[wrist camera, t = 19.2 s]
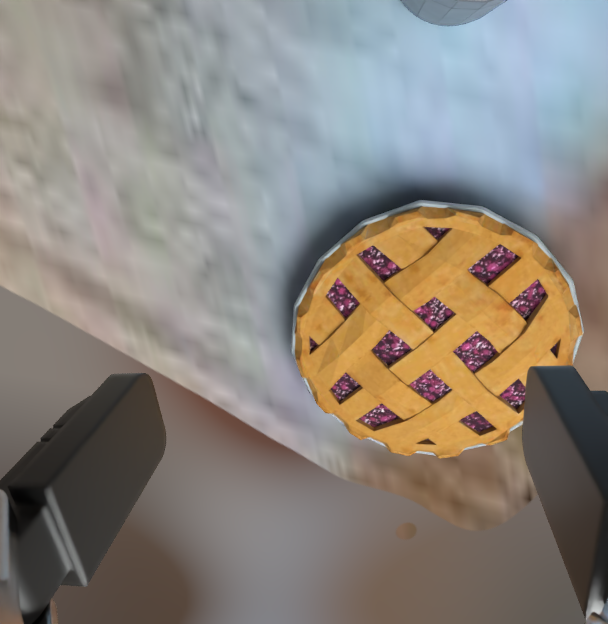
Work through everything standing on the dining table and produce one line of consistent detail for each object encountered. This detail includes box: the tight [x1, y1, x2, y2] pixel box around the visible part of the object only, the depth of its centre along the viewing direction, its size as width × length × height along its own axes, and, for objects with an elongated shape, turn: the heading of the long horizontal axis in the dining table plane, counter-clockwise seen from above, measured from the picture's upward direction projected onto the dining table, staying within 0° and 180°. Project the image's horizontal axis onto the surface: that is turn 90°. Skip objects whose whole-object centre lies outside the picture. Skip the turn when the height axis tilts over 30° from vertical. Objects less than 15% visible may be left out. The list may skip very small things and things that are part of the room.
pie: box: [291, 200, 584, 458], centre depth 40 cm, size 22×22×5 cm
